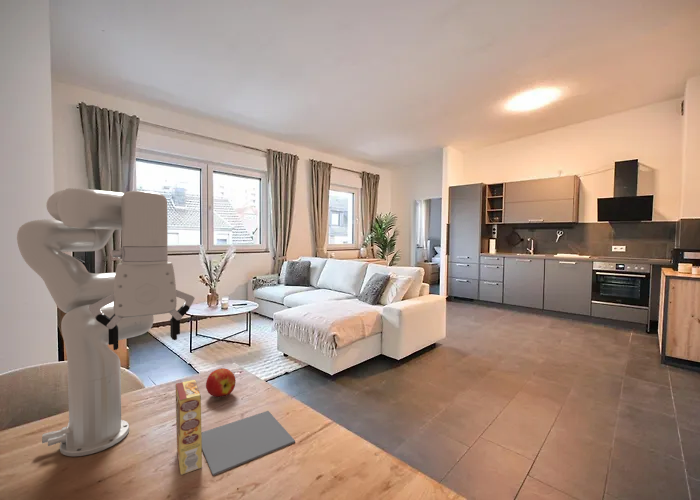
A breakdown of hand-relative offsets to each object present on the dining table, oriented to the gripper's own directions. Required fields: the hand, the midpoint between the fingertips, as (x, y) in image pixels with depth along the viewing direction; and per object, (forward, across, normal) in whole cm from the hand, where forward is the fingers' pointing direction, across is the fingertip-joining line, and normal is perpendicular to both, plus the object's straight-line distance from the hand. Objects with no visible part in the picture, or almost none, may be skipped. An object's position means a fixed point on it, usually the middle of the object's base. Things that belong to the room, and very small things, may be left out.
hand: (146, 342), depth 63 cm
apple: (+27, +21, +24) cm, 42 cm away
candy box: (+27, +7, 0) cm, 28 cm away
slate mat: (+26, +20, -1) cm, 33 cm away
